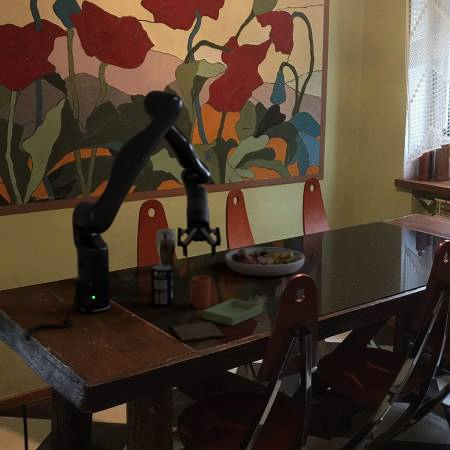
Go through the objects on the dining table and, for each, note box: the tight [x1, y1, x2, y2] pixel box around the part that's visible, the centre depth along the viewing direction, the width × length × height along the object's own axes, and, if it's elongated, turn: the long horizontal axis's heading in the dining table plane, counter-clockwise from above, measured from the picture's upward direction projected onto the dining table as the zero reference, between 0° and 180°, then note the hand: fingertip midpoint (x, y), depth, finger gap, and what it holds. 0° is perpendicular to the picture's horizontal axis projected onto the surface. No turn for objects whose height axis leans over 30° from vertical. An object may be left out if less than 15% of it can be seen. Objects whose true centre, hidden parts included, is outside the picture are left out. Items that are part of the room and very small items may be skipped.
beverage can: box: [150, 264, 174, 307], centre depth 226 cm, size 7×7×12 cm
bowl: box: [224, 246, 306, 278], centre depth 273 cm, size 30×30×8 cm
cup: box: [191, 275, 211, 309], centre depth 226 cm, size 6×6×9 cm
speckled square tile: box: [171, 320, 225, 342], centre depth 203 cm, size 12×12×1 cm
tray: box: [202, 298, 263, 327], centre depth 218 cm, size 15×11×2 cm
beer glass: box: [156, 228, 177, 272], centre depth 267 cm, size 7×7×15 cm
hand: (199, 256), depth 233 cm, fingers open, 8 cm apart
